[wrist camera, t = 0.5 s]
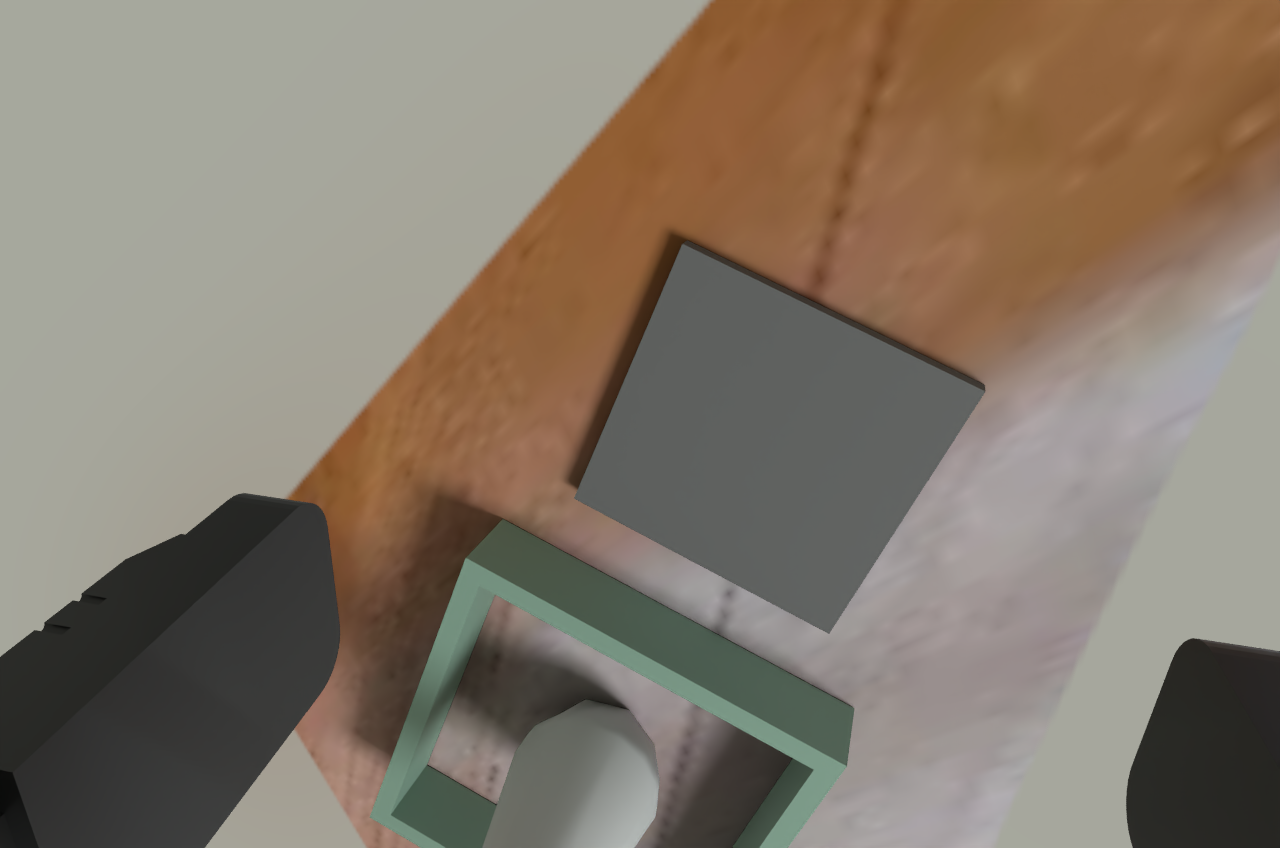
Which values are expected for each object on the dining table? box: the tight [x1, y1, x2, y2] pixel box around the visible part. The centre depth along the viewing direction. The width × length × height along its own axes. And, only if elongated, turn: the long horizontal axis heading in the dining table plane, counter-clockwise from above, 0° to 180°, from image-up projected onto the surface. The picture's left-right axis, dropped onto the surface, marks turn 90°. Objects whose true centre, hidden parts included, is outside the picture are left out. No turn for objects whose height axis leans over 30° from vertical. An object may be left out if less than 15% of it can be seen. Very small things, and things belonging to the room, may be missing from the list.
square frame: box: [370, 519, 854, 848], centre depth 35 cm, size 15×15×3 cm
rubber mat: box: [574, 240, 985, 633], centre depth 29 cm, size 10×10×1 cm
